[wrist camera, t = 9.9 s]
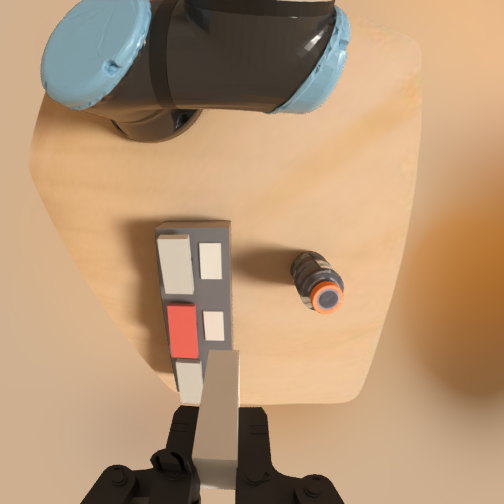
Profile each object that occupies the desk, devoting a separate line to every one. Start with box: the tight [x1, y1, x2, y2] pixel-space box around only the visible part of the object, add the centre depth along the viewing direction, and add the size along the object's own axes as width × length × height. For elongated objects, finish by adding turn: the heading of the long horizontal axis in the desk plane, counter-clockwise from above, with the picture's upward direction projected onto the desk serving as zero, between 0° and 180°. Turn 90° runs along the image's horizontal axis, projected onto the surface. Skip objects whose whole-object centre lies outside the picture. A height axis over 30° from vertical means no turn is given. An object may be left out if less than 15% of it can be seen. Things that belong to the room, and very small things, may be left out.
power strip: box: [155, 221, 234, 392], centre depth 42 cm, size 29×10×6 cm, turn 0°
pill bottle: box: [291, 252, 344, 314], centre depth 38 cm, size 6×6×11 cm
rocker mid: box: [167, 303, 199, 359], centre depth 39 cm, size 8×4×1 cm, turn 179°
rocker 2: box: [176, 358, 203, 404], centre depth 41 cm, size 8×4×1 cm, turn 179°
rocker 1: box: [157, 235, 194, 294], centre depth 36 cm, size 8×4×1 cm, turn 0°
